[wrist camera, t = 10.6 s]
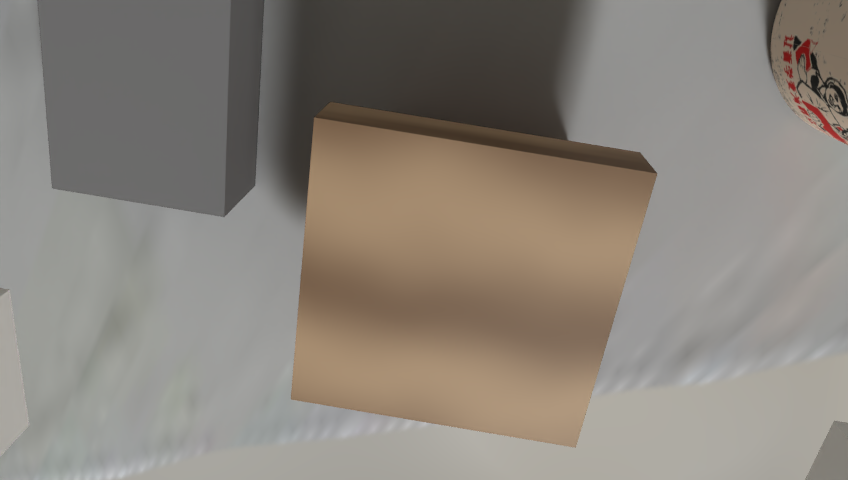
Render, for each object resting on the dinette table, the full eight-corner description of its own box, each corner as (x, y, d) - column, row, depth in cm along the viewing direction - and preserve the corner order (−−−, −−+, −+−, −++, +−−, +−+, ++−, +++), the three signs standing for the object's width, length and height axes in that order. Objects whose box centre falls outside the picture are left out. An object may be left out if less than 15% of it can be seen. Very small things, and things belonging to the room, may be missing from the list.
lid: (330, 101, 24) (314, 117, 21) (639, 152, 24) (657, 173, 21) (306, 362, 28) (290, 399, 26) (567, 407, 28) (575, 447, 26)
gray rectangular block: (90, -138, 26) (25, -154, 22) (269, -109, 26) (234, -120, 22) (103, 160, 31) (52, 188, 27) (254, 185, 30) (224, 217, 27)
